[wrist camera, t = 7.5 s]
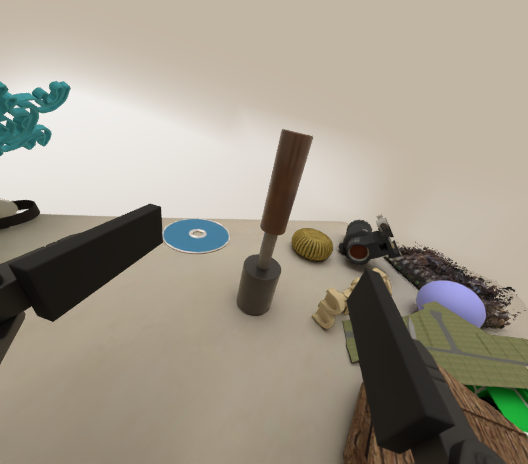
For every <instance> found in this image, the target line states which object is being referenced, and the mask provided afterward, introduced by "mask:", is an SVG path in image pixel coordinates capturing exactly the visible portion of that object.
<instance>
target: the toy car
mask: <svg viewBox="0 0 528 464" xmlns="http://www.w3.org/2000/svg"><path fill="white" fill-rule="evenodd" d="M466 386H467V388H468V389H469V390H470V391H472V392H473V393H474V394H475V395H476V396H478V397H479V398H480V399H481V400H483V401H486V402H487V403H488V404H490V405H491V406H492V407H493V408H495V409H496V410H497V411H498V412H500V413H501V414H502V415H503V416H505V417H506V418H507V419H508V420H509V421H511V422H512V423H513V424H514V425H516V426H517V427H518V428H519V429H521V430H522V431H523V432H524V433H526V434H527V436H528V388H513V387H495V386H492V387H491V386H477V385H466Z"/></svg>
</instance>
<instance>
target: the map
mask: <svg viewBox="0 0 528 464" xmlns="http://www.w3.org/2000/svg"><path fill="white" fill-rule="evenodd" d="M422 306H423V307H424V308H425V309H422V310H420V311H417V312H415V313H413V314H411V315H408V316H406V317H402V319H403V321H404V323H405V325H406V327H407V323H408V318H409V317H410V319H411V321H412V323H413V325H414V329H415V334H416V339H417V340H419V341H420V342H421V343H422V344H423V345H424V346H425V347H426V349H427V350H428V351H429V352H430V353H431V355H432V356H433V358H434V360H435V361H436V363H437V364H438V365H440V366H441V367H442V368H443V369H444V370H446V371H447V372H448V373H449V374H451V375H452V376H453V377H454V378H456V379H457V380H458V381H459V382H460V383H462V384H463V385H477V386H491V387H492V386H495V387H513V388H528V369H527V368H526V366H528V340H526V339H523V338H514V337H507V336H506V337H504V336H496V335H490V334H488V333H486V332H485V331H483V330H481V329H480V328H478V327H476V326H475V325H473V324H471V323H470V322H468V321H466V320H465V319H463V318H462V317H460V316H458V315H457V314H455V313H454V312H452V311H451V310H449V309H447V308H446V307H444V306H442V305H441V304H439V303H438V302H436V301H433V302H430V303H427V304H424V305H422ZM342 322H343V325H344V330H345V335H346V339H347V343H346V346H347V347H348V350H349V353H350V357H351V360H352V362H355V361H358V360H359V358H358V353H357V348H356V344H355V339H354V334H353V330H352V325H351V320H349V321H342ZM407 329H408V328H407Z"/></svg>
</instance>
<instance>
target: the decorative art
mask: <svg viewBox="0 0 528 464" xmlns="http://www.w3.org/2000/svg"><path fill="white" fill-rule="evenodd" d="M49 89H50V90H51V92H50V94H48V93H47V92H45V91H44V90H43V89H41V88H36V89H35V90H34V91H33V92H32V95H31V94H30V93H20V94H15V95H11V94H10V93H8V92H7V91H8V88H7V87H6V85H4V84H3V83H1V82H0V122H1V121H5V120H7V123H6V126H4V125H3V124H1V123H0V156H1V155H2V154H3V152H8V151H11V150H15V149H17V148H20V147H22V146H23V147H25V148H26V149H28V150H30V149H32V148H33V147H34V146H35V145H36V144H35V143H36V141H37V142H38V143H39V144H40V145H42V146H46V144H47V143H48V141H49V140H50V138H51V131H50V130H49V129H48V128H46V127H45V126H43V125H36V124H37V122H38V119H39V113H38V112H40V113H47V112H51V111H53V110H56V109H57V108H58V107H59V106H61V105H62V104H63V103H64V102H65V101H66V99H67V97H68V94H69V91H70V86H69V85H68V84H66V83H65V82H64V81H63V82H60V83H58V82H57V81H55V82H52V83H50V85H49ZM41 99H43V100H41ZM29 100H35V102H36V103H38V104H39V105H41V106H42V107H37V106H35V105H34V104H32V103H31V102H29ZM15 105H18V106H19V107H20V108H14V107H15ZM26 108H30V113H29V112H28V111H26V110H25V109H26ZM6 112H8V113H9V114H11V115H12V116H14V118H13V121H12V120H10V119H9V118H7V117H6V116H4V114H5V113H6ZM41 130H44V133H43V132H42V131H41ZM4 144H7V145H4ZM3 145H4V146H3Z"/></svg>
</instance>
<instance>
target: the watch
mask: <svg viewBox="0 0 528 464" xmlns="http://www.w3.org/2000/svg"><path fill="white" fill-rule="evenodd" d="M23 209H28V210H26V211H24V212H22V213H19V214H16V215H14V214H15V213H16V212H17V211H18V210H23ZM39 214H40V211H39V209H38V207H37V206H36V204H35V202H34V201H30V200H18V201H9V200H5V199H0V229H5V228H9V227H10V226H14V225H18V224H21V223H25V222H27V221H30V220H32V219H34V218H35V217H37V216H38V215H39Z"/></svg>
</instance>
